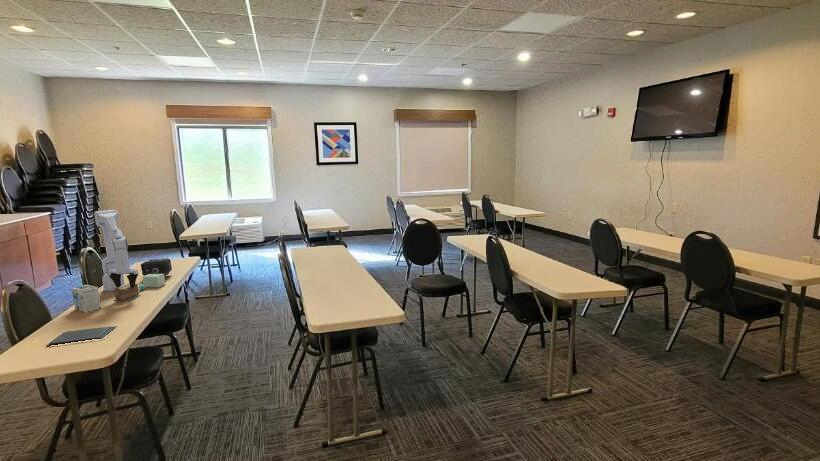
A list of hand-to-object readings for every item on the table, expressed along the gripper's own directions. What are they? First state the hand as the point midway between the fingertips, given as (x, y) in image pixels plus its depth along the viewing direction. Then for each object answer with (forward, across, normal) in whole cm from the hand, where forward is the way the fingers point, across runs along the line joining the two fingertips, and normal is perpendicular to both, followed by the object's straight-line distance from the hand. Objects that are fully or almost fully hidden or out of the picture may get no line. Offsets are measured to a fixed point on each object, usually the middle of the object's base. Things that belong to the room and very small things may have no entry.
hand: (125, 287), depth 210 cm
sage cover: (+6, 0, +21) cm, 22 cm away
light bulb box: (+6, -8, -15) cm, 18 cm away
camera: (+6, -10, +37) cm, 39 cm away
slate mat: (+6, 0, 0) cm, 6 cm away
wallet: (+6, +17, -45) cm, 49 cm away
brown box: (+5, 0, 0) cm, 5 cm away
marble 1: (+6, -2, +9) cm, 11 cm away
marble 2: (+6, -2, +13) cm, 14 cm away
